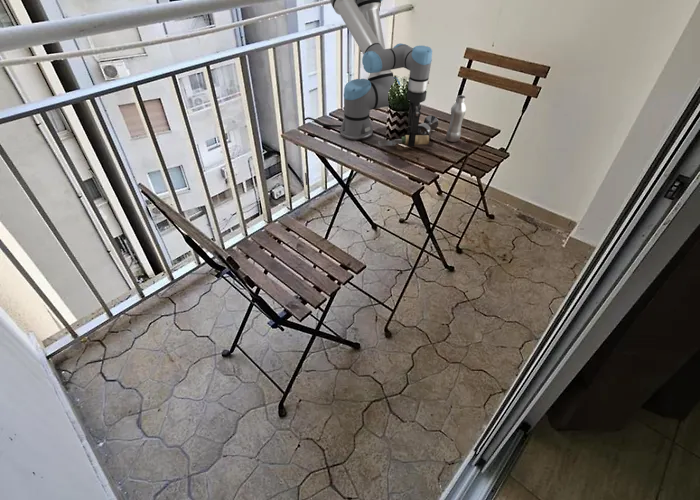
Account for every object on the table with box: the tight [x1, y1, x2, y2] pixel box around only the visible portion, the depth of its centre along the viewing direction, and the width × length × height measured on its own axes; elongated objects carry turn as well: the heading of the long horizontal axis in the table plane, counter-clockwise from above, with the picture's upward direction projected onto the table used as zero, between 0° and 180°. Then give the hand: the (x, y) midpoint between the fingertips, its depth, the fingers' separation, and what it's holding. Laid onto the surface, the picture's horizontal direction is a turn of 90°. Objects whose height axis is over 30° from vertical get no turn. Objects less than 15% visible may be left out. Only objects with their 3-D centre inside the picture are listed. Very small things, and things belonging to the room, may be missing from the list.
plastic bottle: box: [445, 94, 467, 143], centre depth 172 cm, size 6×7×20 cm
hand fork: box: [377, 134, 430, 147], centre depth 169 cm, size 22×4×4 cm, turn 91°
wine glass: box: [416, 114, 439, 138], centre depth 179 cm, size 8×8×15 cm
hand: (410, 143), depth 171 cm, fingers closed on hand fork, 4 cm apart
